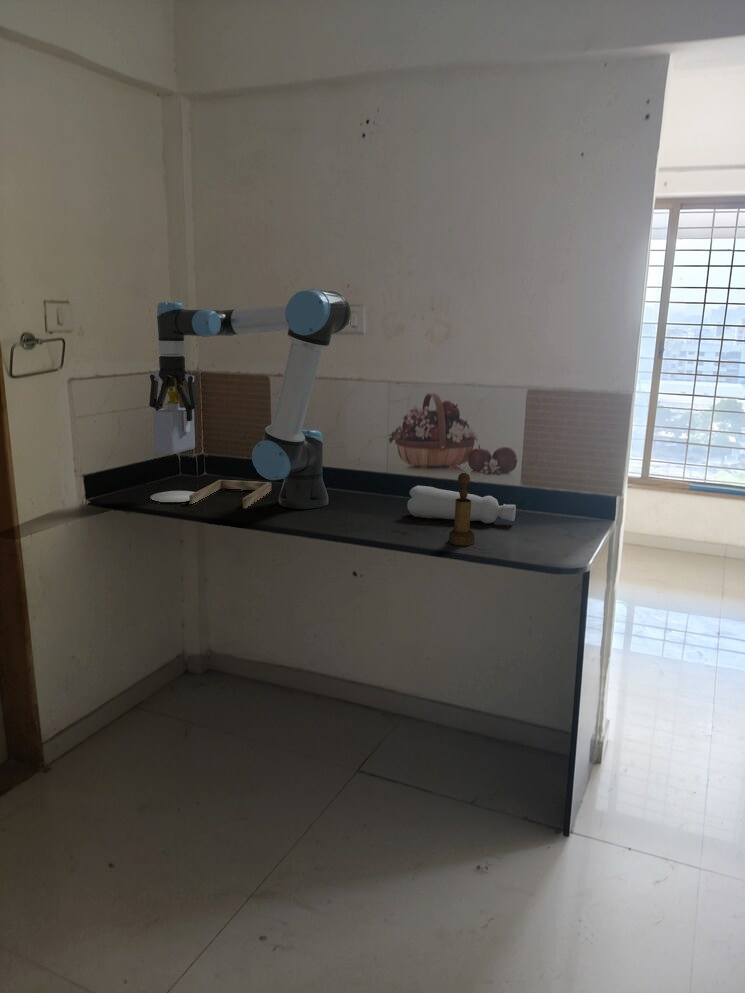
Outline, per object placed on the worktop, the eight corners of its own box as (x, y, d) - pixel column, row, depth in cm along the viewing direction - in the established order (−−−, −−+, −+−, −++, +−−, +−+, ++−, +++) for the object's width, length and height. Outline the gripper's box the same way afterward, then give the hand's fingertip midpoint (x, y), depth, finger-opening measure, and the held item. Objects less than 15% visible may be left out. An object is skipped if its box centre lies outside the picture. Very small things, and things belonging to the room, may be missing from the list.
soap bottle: (178, 447, 242) (175, 372, 237) (196, 448, 240) (193, 373, 234) (153, 452, 231) (150, 374, 225) (172, 454, 228) (169, 375, 223)
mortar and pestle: (476, 545, 193) (479, 475, 189) (451, 546, 193) (453, 476, 189) (471, 538, 200) (474, 470, 196) (446, 538, 199) (449, 470, 195)
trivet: (207, 494, 246) (207, 492, 246) (187, 505, 231) (187, 502, 231) (163, 492, 249) (163, 489, 248) (141, 502, 234) (141, 500, 234)
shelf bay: (271, 491, 251) (271, 482, 251) (246, 508, 228) (245, 498, 228) (220, 488, 255) (219, 479, 254) (189, 504, 232) (189, 495, 231)
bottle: (404, 509, 216) (510, 522, 207) (410, 479, 219) (515, 491, 210) (410, 520, 224) (513, 533, 215) (417, 491, 227) (518, 503, 218)
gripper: (208, 355, 230) (210, 431, 236) (146, 353, 234) (149, 427, 239) (198, 356, 223) (201, 434, 228) (134, 354, 227) (138, 431, 232)
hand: (174, 431), depth 234 cm, fingers closed on soap bottle, 7 cm apart
